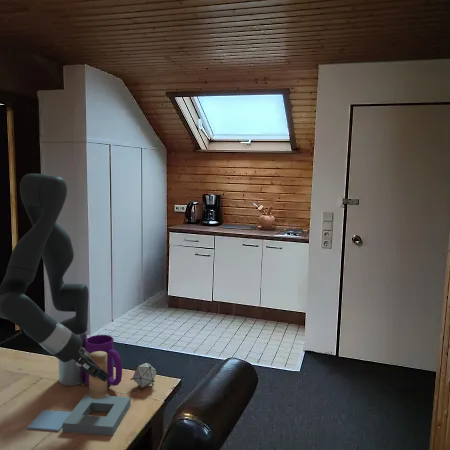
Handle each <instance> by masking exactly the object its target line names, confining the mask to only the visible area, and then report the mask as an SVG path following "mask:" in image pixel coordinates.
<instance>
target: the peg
mask: <svg viewBox="0 0 450 450" xmlns="http://www.w3.org/2000/svg"><path fill="white" fill-rule="evenodd" d="M89 356H90V357H91V358H92V359H93V360H95V364H96V365H98V366H99V367H101V369H102V370H104V371H105V372H106V373H107V353H106V352H104V351H96V352H92V353H90V354H89ZM91 363H92V361H91ZM94 370H95V369H94ZM94 370H93V371H94ZM88 394H89V397H90V398H92V399H101V398H104V397H105V396H108V385H107V381H105V382H104V381H102V380H101V379H100V378H98V377H97V376H96V377H93V376H91V375H90V374H89V386H88Z"/></svg>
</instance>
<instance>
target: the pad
mask: <svg viewBox="0 0 450 450" xmlns="http://www.w3.org/2000/svg"><path fill="white" fill-rule="evenodd" d="M71 412H72V411H63V410H48V409H43V410H42V411H41V412H40V413H39V414H38V415H37V417H35V418H34V420H32V422H31V423H30V424H29V425H28V426H27V430H37V431H38V430H39V431H49V432H50V431H51V432H60V431H61V430H62V429H63V422H64V421H65V419H66V418H67V417H68V416H69V414H70V413H71Z"/></svg>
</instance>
